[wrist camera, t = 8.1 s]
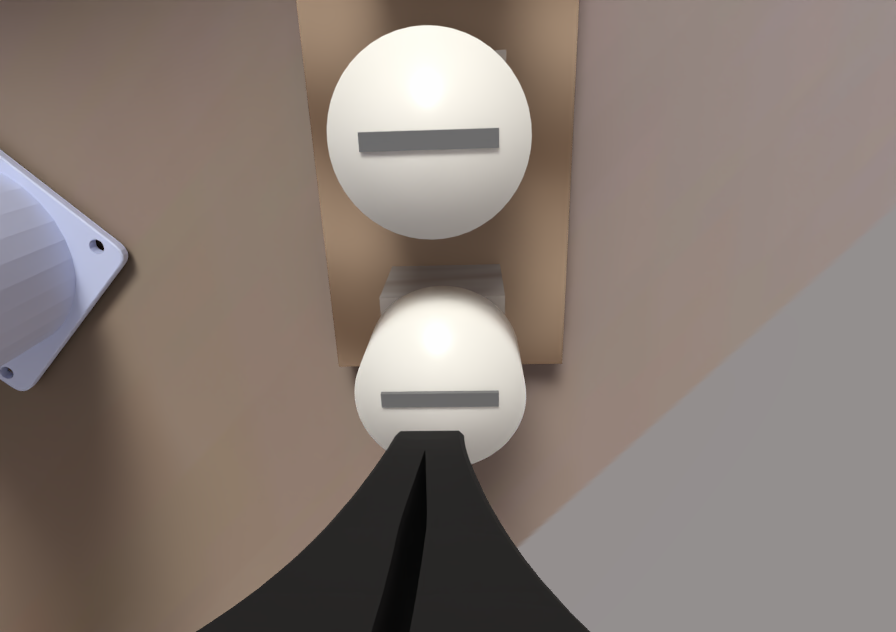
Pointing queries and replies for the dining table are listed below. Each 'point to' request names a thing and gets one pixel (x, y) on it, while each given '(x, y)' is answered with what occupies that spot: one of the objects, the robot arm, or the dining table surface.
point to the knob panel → (498, 240)
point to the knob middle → (429, 132)
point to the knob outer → (442, 371)
